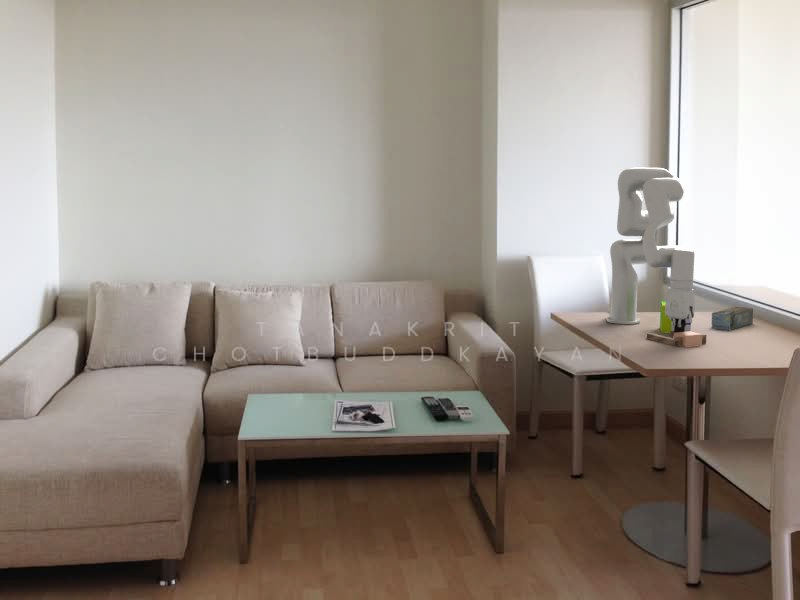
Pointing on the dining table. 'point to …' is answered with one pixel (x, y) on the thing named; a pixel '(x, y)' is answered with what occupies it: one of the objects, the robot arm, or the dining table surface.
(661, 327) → the puzzle toy
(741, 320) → the beverage carton
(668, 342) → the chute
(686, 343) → the block
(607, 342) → the dining table surface
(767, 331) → the dining table surface
